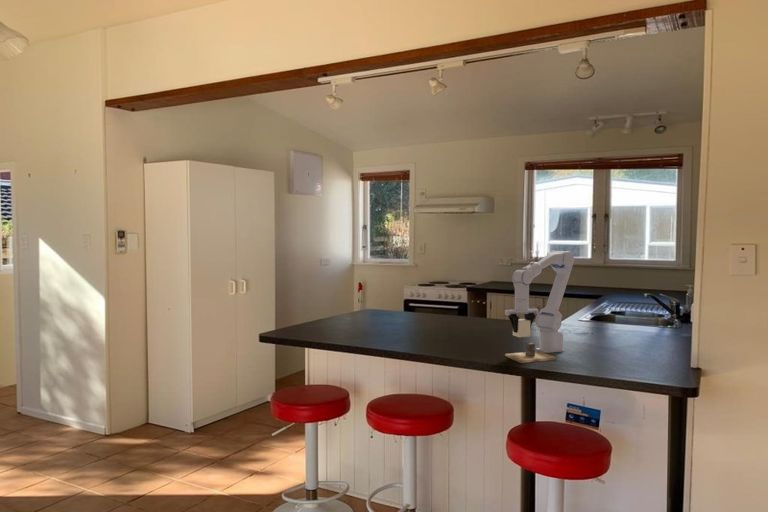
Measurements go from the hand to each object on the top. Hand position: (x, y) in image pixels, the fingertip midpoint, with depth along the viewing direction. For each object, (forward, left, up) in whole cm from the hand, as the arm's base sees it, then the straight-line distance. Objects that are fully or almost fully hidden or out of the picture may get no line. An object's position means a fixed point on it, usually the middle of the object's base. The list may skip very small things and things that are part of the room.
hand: (521, 331), depth 226 cm
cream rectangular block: (0, 0, -2) cm, 2 cm away
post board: (-1, +5, -10) cm, 11 cm away
